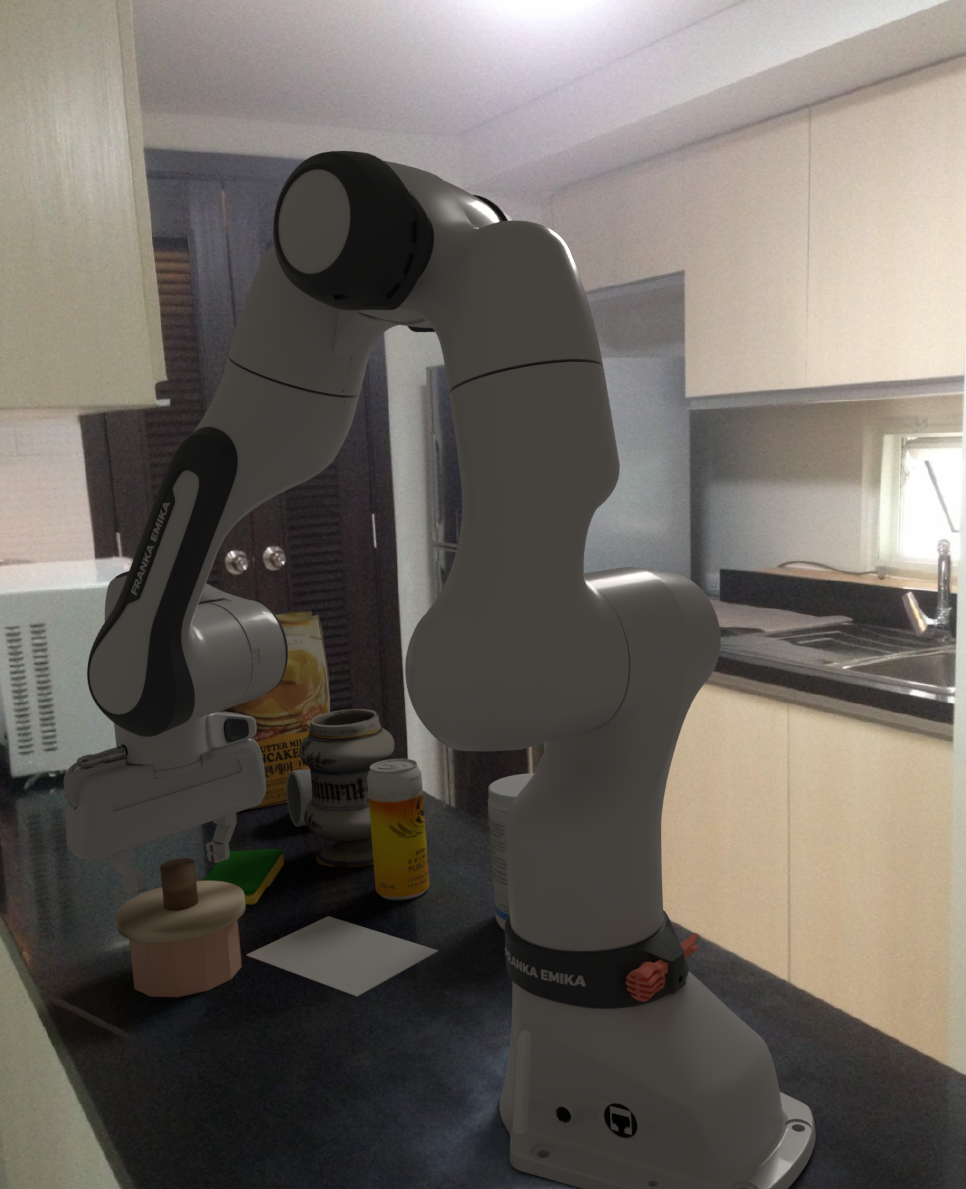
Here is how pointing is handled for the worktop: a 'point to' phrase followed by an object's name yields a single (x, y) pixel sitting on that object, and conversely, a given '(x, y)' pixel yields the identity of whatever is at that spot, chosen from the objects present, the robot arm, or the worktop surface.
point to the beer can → (398, 829)
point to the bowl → (186, 963)
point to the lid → (180, 907)
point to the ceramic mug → (298, 795)
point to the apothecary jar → (343, 782)
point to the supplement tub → (502, 836)
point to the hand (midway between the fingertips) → (178, 875)
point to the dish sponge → (249, 871)
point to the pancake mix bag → (290, 703)
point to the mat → (342, 955)
